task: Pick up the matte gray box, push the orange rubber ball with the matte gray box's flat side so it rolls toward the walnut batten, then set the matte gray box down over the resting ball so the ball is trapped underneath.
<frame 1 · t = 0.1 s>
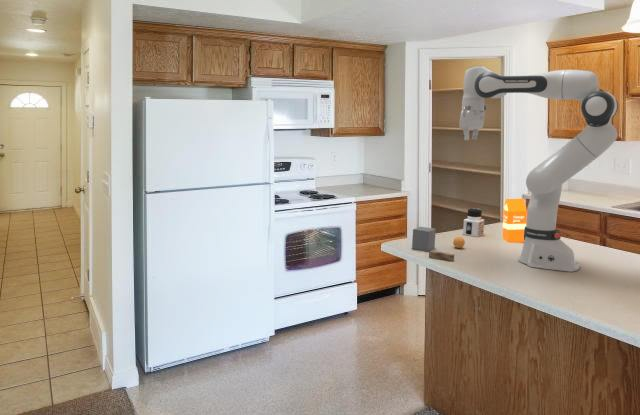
hand: (470, 139, 222), 48 cm above the countertop, tool pointing down, fingers open, 8 cm apart
ball: (458, 242, 234), on the countertop
container: (473, 235, 262), on the countertop
matte gray box: (423, 248, 232), on the countertop
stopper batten: (441, 258, 216), on the countertop
orange juice: (514, 241, 251), on the countertop
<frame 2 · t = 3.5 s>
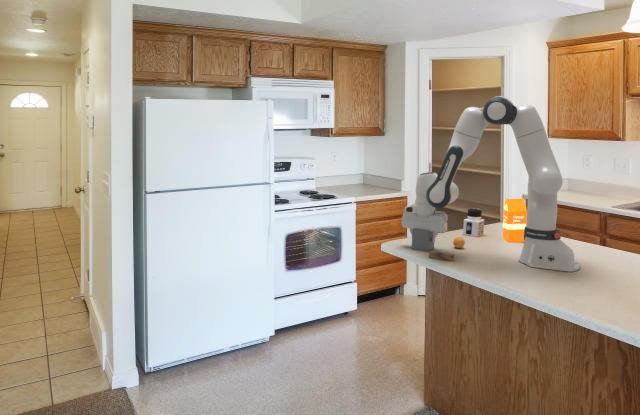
hand: (423, 240, 232), 4 cm above the countertop, tool pointing down, fingers closed on matte gray box, 7 cm apart
matte gray box: (422, 248, 232), on the countertop, touching gripper
everything else where it was.
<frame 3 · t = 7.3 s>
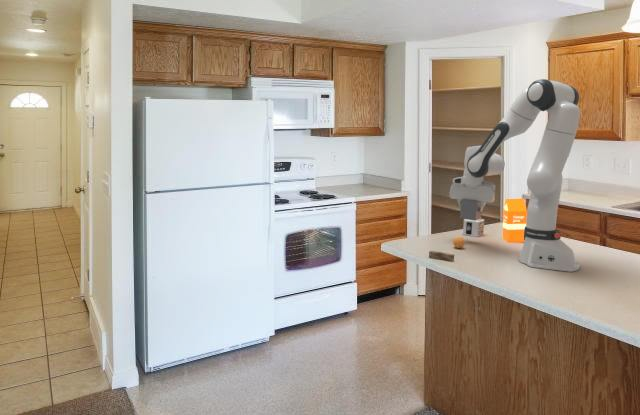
hand: (470, 210, 243), 15 cm above the countertop, tool pointing down, fingers closed on matte gray box, 7 cm apart
matte gray box: (470, 218, 244), point 11 cm above the countertop, touching gripper
everything else where it was.
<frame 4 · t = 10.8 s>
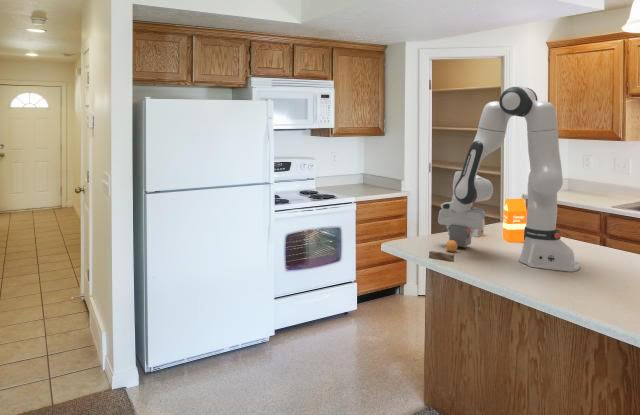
hand: (460, 236, 234), 5 cm above the countertop, tool pointing down, fingers closed on matte gray box, 7 cm apart
ball: (451, 245, 228), on the countertop
matte gray box: (459, 244, 235), point 2 cm above the countertop, touching gripper
everything else where it was.
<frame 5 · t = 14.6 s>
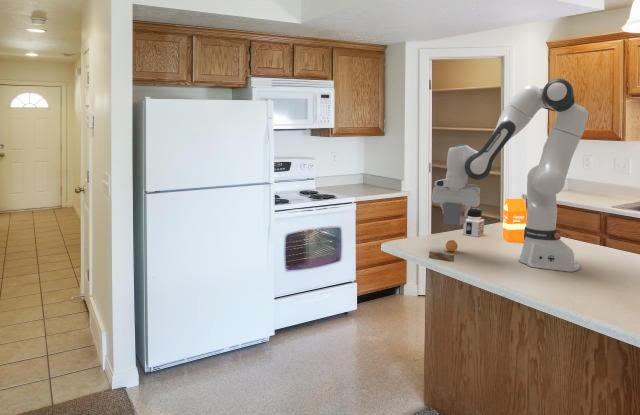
hand: (454, 215, 225), 16 cm above the countertop, tool pointing down, fingers closed on matte gray box, 7 cm apart
matte gray box: (454, 222, 226), point 13 cm above the countertop, touching gripper
everything else where it was.
when the fingers open (4 cm above the countertop, at t = 17.9 s): matte gray box stays where it is, on the countertop.
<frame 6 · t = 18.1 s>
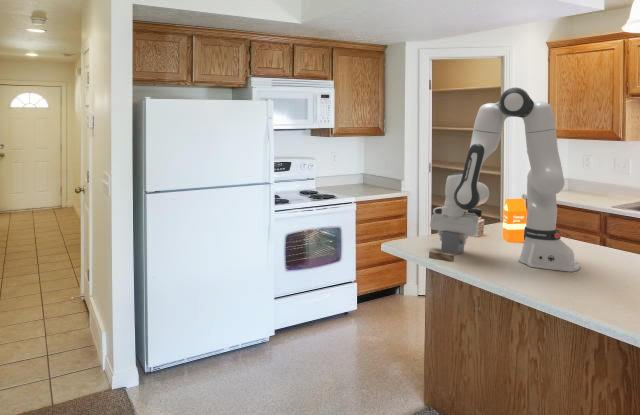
hand: (452, 242, 227), 4 cm above the countertop, tool pointing down, fingers open, 8 cm apart
matte gray box: (452, 251, 228), on the countertop
everything else where it was.
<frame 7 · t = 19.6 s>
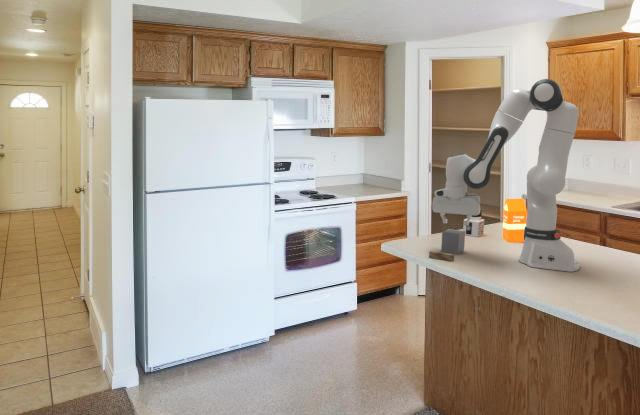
hand: (455, 224, 226), 12 cm above the countertop, tool pointing down, fingers open, 8 cm apart
nothing on the countertop moved.
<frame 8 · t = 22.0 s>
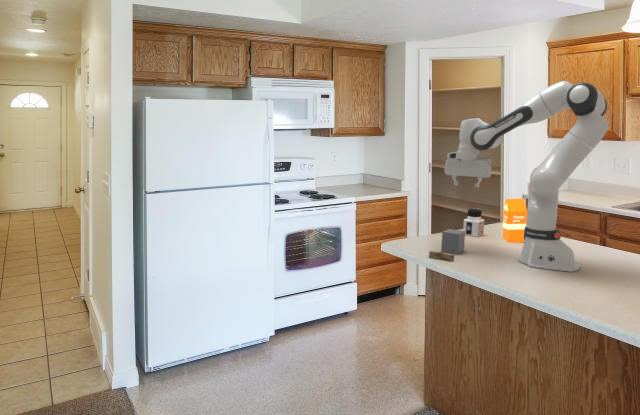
hand: (466, 186, 234), 27 cm above the countertop, tool pointing down, fingers open, 8 cm apart
nothing on the countertop moved.
at the end: ball 0.8 cm from the matte gray box (horizontally); matte gray box on the countertop; ball moved 8.3 cm from its start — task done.
